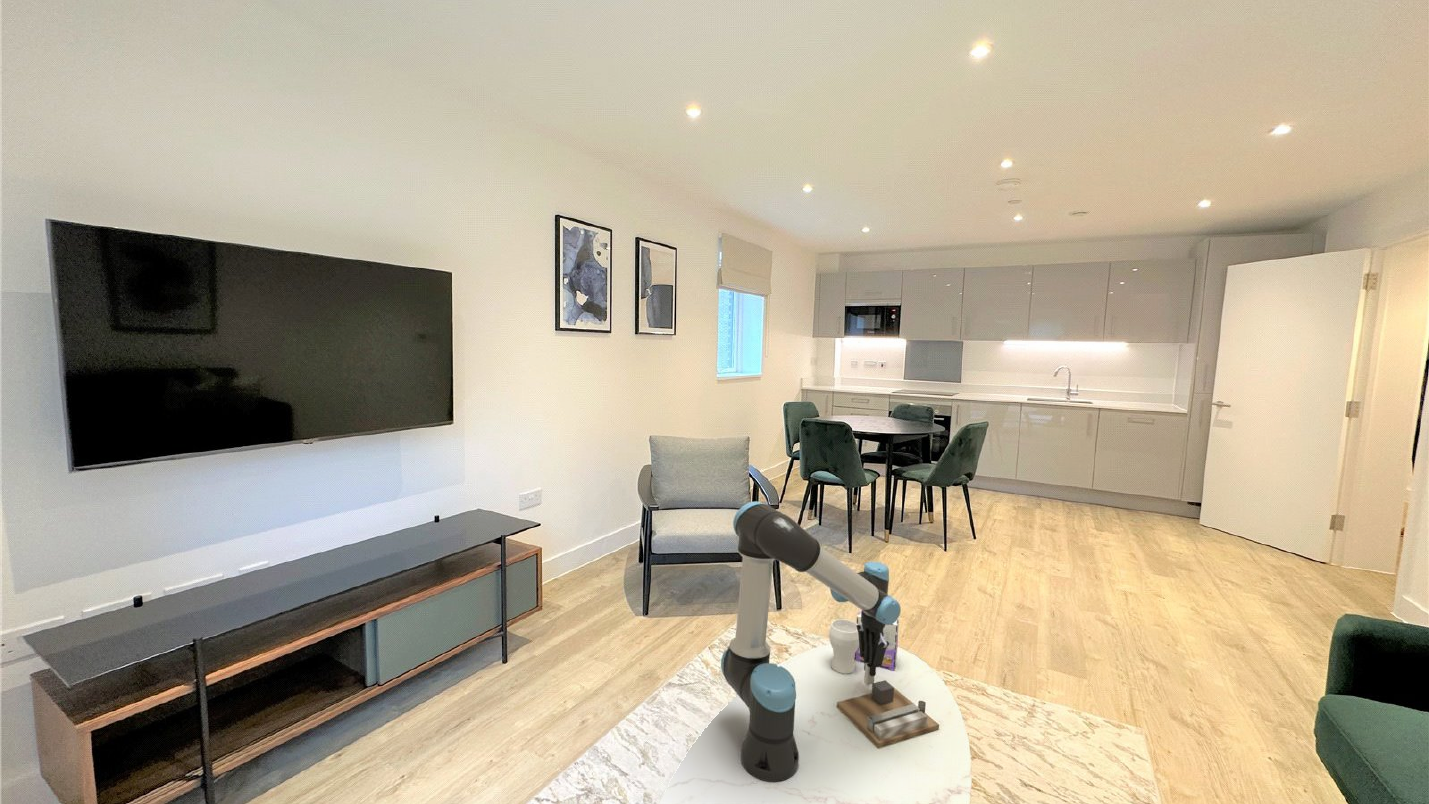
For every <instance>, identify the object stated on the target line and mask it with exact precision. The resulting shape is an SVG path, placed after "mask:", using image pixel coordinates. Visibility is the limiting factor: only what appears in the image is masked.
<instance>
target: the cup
mask: <svg viewBox="0 0 1429 804" xmlns="http://www.w3.org/2000/svg"><path fill="white" fill-rule="evenodd" d="M857 625H858V624H857V622H855V621H853V620H850V619H845V618H838V619H837V618H836V619H833V620H832V622H831V623H830V627H829V631H828V632H829V633H828V638H829V641H830V645H831V647H832V650H833V651H832V653H833V656H832V660H831V667H832V669H833V670H834V671H836V672H837V673H840V674H845V675H846V674H852V673H854V672H855V669H856V668H855V660H854V658H855V652H856V651H857V649H858V647H859V636H858V630H857Z"/></svg>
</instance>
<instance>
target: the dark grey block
mask: <svg viewBox="0 0 1429 804" xmlns="http://www.w3.org/2000/svg"><path fill="white" fill-rule="evenodd" d="M894 688H895V687H894V686H893V685H892V684H890V683H889V682H888V681H887V680H880V681H877V682H874V683H873V684H871V693H872V698H873V699H874V700H875V701H876V702H877V703H878V704H880V705H882V704H886V703H889V702H893V696H894Z"/></svg>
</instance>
